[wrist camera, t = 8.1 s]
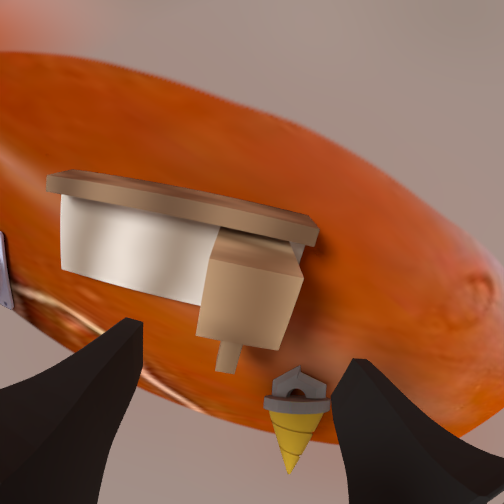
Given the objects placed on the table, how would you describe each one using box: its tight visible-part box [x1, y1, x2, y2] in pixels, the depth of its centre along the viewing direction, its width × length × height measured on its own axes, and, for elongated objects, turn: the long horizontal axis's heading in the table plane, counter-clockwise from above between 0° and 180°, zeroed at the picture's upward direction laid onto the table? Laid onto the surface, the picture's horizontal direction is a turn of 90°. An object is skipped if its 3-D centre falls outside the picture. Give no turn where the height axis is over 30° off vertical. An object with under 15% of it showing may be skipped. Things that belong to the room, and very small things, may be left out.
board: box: [46, 170, 320, 306], centre depth 16 cm, size 16×7×3 cm, turn 77°
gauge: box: [196, 226, 304, 374], centre depth 15 cm, size 4×8×5 cm, turn 167°
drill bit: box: [264, 365, 331, 474], centre depth 20 cm, size 5×5×10 cm
